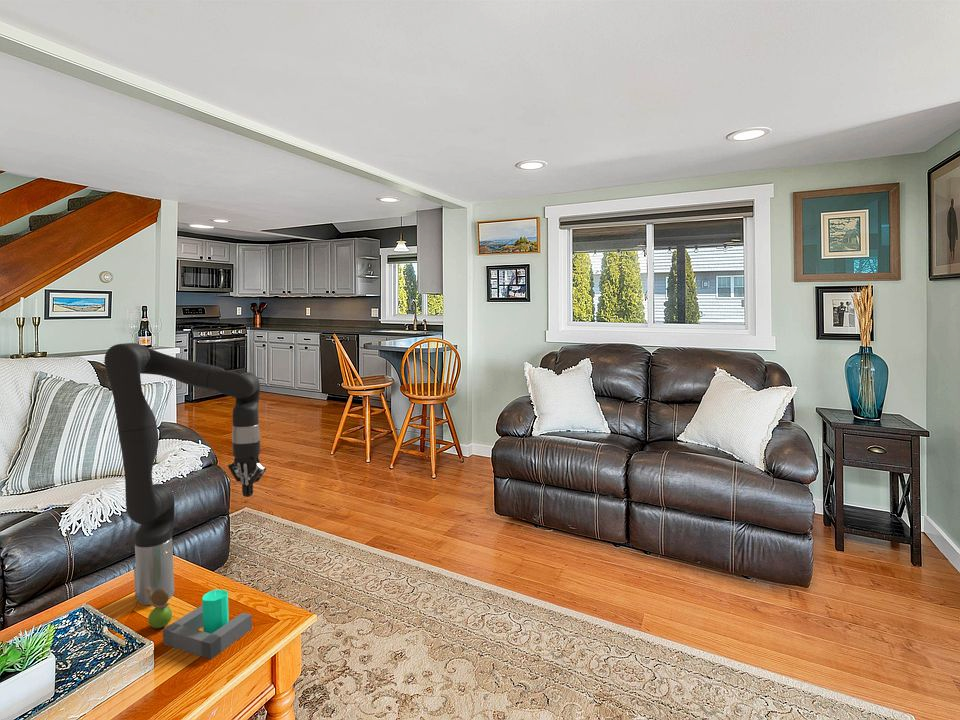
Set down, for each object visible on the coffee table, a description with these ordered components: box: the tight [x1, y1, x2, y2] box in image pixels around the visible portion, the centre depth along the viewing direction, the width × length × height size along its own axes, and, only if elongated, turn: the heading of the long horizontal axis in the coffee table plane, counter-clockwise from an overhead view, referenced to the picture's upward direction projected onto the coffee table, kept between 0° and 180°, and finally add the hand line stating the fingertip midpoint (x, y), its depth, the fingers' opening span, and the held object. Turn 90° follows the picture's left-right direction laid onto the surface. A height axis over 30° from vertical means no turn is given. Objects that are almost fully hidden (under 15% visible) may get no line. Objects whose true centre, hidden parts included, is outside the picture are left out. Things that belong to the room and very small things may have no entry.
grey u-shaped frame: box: [162, 604, 253, 660], centre depth 133 cm, size 16×13×4 cm
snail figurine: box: [144, 582, 173, 629], centre depth 137 cm, size 5×6×12 cm
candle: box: [201, 588, 230, 634], centre depth 135 cm, size 6×6×12 cm
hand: (247, 495), depth 155 cm, fingers closed
